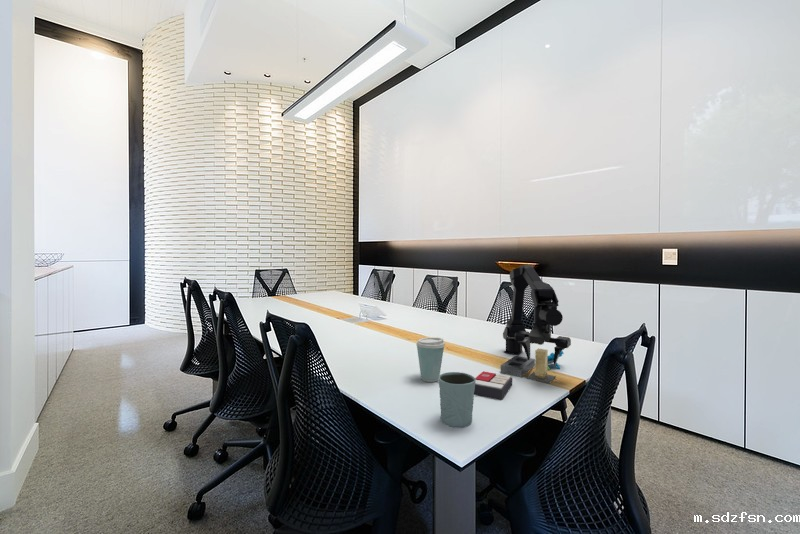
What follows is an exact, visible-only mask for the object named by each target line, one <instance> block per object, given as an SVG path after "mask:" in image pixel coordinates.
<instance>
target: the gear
mask: <svg viewBox="0 0 800 534" xmlns="http://www.w3.org/2000/svg"><path fill="white" fill-rule="evenodd" d="M554 353H555V352H551V353H550V354H549V355H548V358H547V371H550V370H551V368H550V367H549V364H550V365H551V364H554ZM564 354H565V353H564V351H563V350H562V351H561V353H560V355H559V357H558V358H560V357H562V356H563V355H564ZM557 362H558V361H557ZM557 362H556V364H555V367H556V369H557V370H559V369H561V367H560V365H559V364H558V363H557Z"/></svg>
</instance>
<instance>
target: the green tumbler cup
mask: <svg viewBox="0 0 800 534" xmlns="http://www.w3.org/2000/svg"><path fill="white" fill-rule="evenodd" d="M475 378H476V377H475V376H473V375H472V374H469V373H466V372H459V371H449V372H443V373H440V376H439V379H438V388H439V398H440V400H439V401H440V402H439V404H440V419H441V422H442V423H443V425H446V426H448V427H450V428H457V429H459V428H460V429H462V428H466V427H469V426H470V425H471V424H472V422H473V411H474V400H475V399H474V398H475V395H474V390H475V382H476V379H475Z"/></svg>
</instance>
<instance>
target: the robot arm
mask: <svg viewBox="0 0 800 534" xmlns="http://www.w3.org/2000/svg"><path fill="white" fill-rule="evenodd" d="M509 279H510V281H509V282H510V283H511V285H512V287H513V290H512V292H513V293H512V301H511V314H510V318H509V319H508V320H507V321H506V325H505V327H504V330H503V332H502V338H503V339H504V340H505V350H504V352H503V353H506V354H512V355H515V356H519V355H520V354H522V353H523V351H524V353H525V356H526V357H527V358H528V360H530V358H531V344H537V345H539V346H541V345H544V343H548V344H549V343H550V344H555V347H554V352H553V353H554V363H553V365H555V364H556V362H558V359H559V358H560V357H559V355H560V353H561V351H563V350H565V349H568V348H569V347H571V346H572V343H571V342H572V340H571V338H570V337H569V336H563V335H562V336H557V337H556V338H555V337H552V333H551V326H552V327H556V326H559V325H560V324H562V321H563V319H564V318H563V314H562V312H561V311H560V310H558V307H559V299H558V296H557V294H556V292H555V289H554V288H553V287H552V286H551V284H550V283H547V282H544V281H543V280H542V279H541V277H540V276H539V274H538V273H537V272H536V270H535V266H534V265H532V264H531V265H530V264H529V265H528V264H527V265H525V264H524V265H520V266H518V267H517V268H513V269H512V270H511V271H510V272H509ZM528 287H529V288H530V289H531V290H530V297H531V301H532V302H533V303H532V304H533V305H532V306H533V307H534V308H533V323H532V329H531V330H530V331H527V330H526V326H525V324H524V322H523V319H522V318H523V311H524V310H523V309H524V301H525V291H526V289H527V288H528ZM521 352H522V353H521ZM555 366H556V365H555Z"/></svg>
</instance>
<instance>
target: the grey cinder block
mask: <svg viewBox="0 0 800 534" xmlns="http://www.w3.org/2000/svg"><path fill="white" fill-rule="evenodd" d="M534 366H535V358H531V357H530V360H528V358H527V356H526V357H525V356H521V355H520V356H519V355H514V356H513V357H511V358H510V359H508V360H506V361H504V362H503V363H502V364H500V374H503V375H507V376H512V377H517V378H523V377H524V376H525V375H526V374H527V373H528V371H529V370H530V371H531V370H532V369H534V368H535V367H534ZM530 371H529V372H530Z"/></svg>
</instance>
